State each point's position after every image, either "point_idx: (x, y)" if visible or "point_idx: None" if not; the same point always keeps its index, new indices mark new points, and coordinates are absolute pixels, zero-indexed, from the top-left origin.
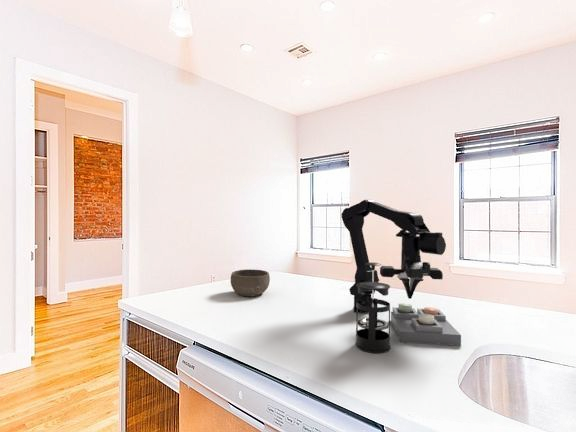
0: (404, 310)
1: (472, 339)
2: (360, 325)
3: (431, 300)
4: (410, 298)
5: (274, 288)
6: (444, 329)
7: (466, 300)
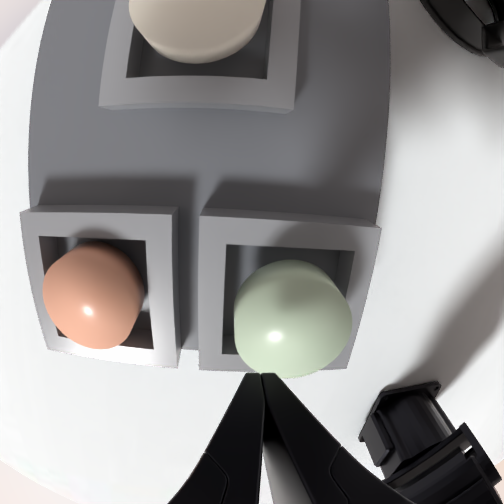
0: (311, 267)
1: (3, 96)
2: None
3: (111, 497)
4: (254, 373)
5: (492, 461)
6: (97, 25)
7: (30, 476)
